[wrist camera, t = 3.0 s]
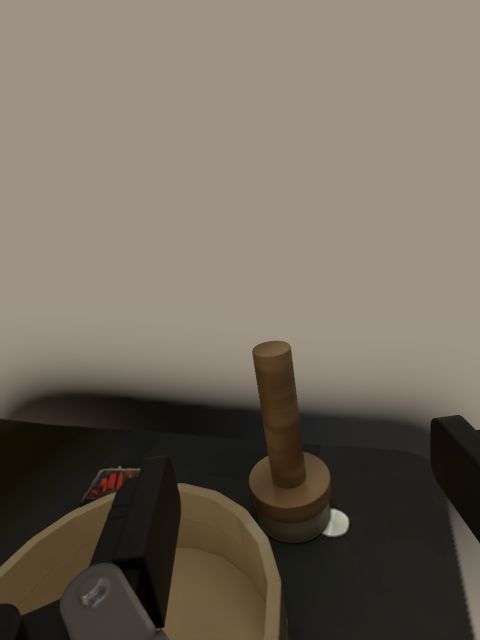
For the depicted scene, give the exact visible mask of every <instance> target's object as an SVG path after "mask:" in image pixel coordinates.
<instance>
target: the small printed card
mask: <svg viewBox="0 0 480 640" xmlns="http://www.w3.org/2000/svg"><path fill="white" fill-rule="evenodd" d="M139 472H140V469H130V468H128V469H122V468H121V467H120V466H119V468H118V469H113V468H110V469H104V470H101V471H99V473H98V474H97V475H98V476H96V479H93V483H92V484H91V486H90V488H89V490H88V491H87V492H86V494H84V496H83V498H82V502H81V506H80V507H82V506H85V505H87V504H89V503H91V502H93V501H95V500H98V499H100V498H102V497H104V496H106V495H109V494H111V493H115V492H117V490H118V489H119V488H120V487H121V486H122V484H123V483H124V482H125V481H126V480H127V479H128V478H131V477H138V475H139Z"/></svg>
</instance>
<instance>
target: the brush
mask: <svg viewBox="0 0 480 640" xmlns="http://www.w3.org/2000/svg"><path fill="white" fill-rule="evenodd" d="M252 352H253V359H254V366H255V372H256V379H257V385H258V392H259V398H260V404H261V411H262V418H263V424H264V431H265V437H266V444H267V450H268V456H267V457H265V458H263V459H262V460H261V461H259V462H258V463H257V464H256V465H255V466H254V468H253V469H252V471H251V474H250V477H249V486H250V492H251V498H252V502H253V504H254V506H255V507H256V509H257V514H258V520H259V523H260V525H261V527H262V529H263V530H264V531H265V532H266V533H267V534H268V535H269V536H271V537H272V538H274V539H276V540H278V541H282V542H286V543H301V542H306V541H309V540H311V539H313V538H315V537H317V536H318V535H320V534H321V533H322V532H323V531H324V530H325V528H326V527H327V525H328V523H329V520H330V515H331V512H330V499H331V494H332V490H331V479H330V473H329V470H328V468H327V466H326V465H325V464H324V462H323V461H322V460H320V459H319V458H317V457H316V456H314V455H312V454H309V453H306V452H303V445H302V438H301V429H300V421H299V412H298V403H297V395H296V387H295V378H294V370H293V362H292V353H291V346H290V345H289V344H288V343H286V342H283V341H270V342H265V343H261V344H259V345H257V346H255V347H254V348H253V351H252Z"/></svg>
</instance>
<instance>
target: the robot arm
mask: <svg viewBox="0 0 480 640" xmlns="http://www.w3.org/2000/svg"><path fill="white" fill-rule="evenodd" d="M430 460H431V468H432V471H433V474H434V477H435V479H436V481H437V483H438V484H439V486H440V487H441V488H442V490H443V491H444V493H445V494H446V496H447V497H448V498H449V500H450V501H451V503H452V504H453V505H454V507H455V508H456V510H457V511H458V513H459V514H460V515H461V517H462V518H463V520H464V521H465V523H466V524H467V525H468V527H469V528H470V530H471V531H472V533H473V534H474V535H475V537H476V538H477V540H478V541H479V543H480V430H475V429H474V428H473V427H472V426H471V425H470V424H469V423H468V422H467V421H466V420H465V419H464V418H463V417H462V416H460V415H454V416H448V417H440V418H434V419H432V421H431V457H430ZM180 519H181V499H180V494H179V489H178V485H177V481H176V477H175V473H174V469H173V465H172V461H171V458H170V456H169V455H164V456H157V457H150V458H145V459H144V460H143V462H142V466H141V469H140V472H139V475H138V477H131V478H128V479H127V480H126V481H125V482H124V483H123V484H122V486H121V487H120V488H119V489H118V490H117V492H116V494H115V497H114V500H113V502H112V505H111V509H110V511H109V513H108V516H107V521H105V524H104V527H103V529H102V532H101V535H100V537H99V540H98V543H97V546H96V548H95V551H94V554H93V556H92V559H91V562H90V564H89V567H88V568H86V569H85V570H83V571H82V572H80V573H79V574H78V575H76V576H75V577H74V578H73V579H72V580H71V581H70V583H69V584H68V585H67V587H66V588H65V590H64V592H63V594H62V596H61V598H60V599H58V600H56V601H54V602H52V603H50V604H48V605H45V606H43V607H41V608H38V609H36V610H34V611H31V612H29V613H27V614H24V615H22V616H21V614H20V612H19V610H18V608H17V607H16V606H14V605H12V604H7V603H4V604H0V640H170V639H169V638H168V636H167V635H166V633H165V632H164V631H163V630H162V629H159V628H164V627H165V620H166V614H167V607H168V600H169V593H170V587H171V580H172V573H173V566H174V560H175V553H176V546H177V539H178V533H179V526H180ZM157 629H159V630H157Z"/></svg>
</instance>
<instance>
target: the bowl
mask: <svg viewBox="0 0 480 640" xmlns="http://www.w3.org/2000/svg"><path fill="white" fill-rule="evenodd" d="M177 485H178V489H179V494H180V499H181V519H180V526H179V533H178V539H177V546H176V553H175V560H174V566H173V573H172V580H171V587H170V593H169V600H168V607H167V614H166V620H165V627H164V628H159V629H162V630H163V631H164V632H165V633H166V635H167V636H168V638H169V639H170V640H291V638H290V632H289V626H288V619H287V614H286V607H285V601H284V595H283V589H282V582H281V578H280V575H279V571H278V568H277V565H276V561H275V558H274V555H273V552H272V548H271V545H270V542H269V539H268V537H267V536H266V534H265V533H264V532H263V531H262V529H261V528H260V527H259V525H258V524H257V523H256V522H255V520H254V519H253V518H252V516H251V515H250V514H249V513H248V511H247V510H246V509H245V508H243V507H242V506H240V505H238V504H237V503H235V502H234V501H232V500H230V499H229V498H227V497H225V496H224V495H222V494H221V493H219V492H216V491H214V490H210V489H205V488H201V487H197V486H193V485H189V484H183V483H181V484H177ZM115 494H116V492H115V493H111V494H109V495H106V496H104V497H102V498H100V499H98V500H95V501H93V502H91V503H89V504H87V505H85V506H82V507H80V508H78V509H76V510H74V511H72V512H70V513H68V514H67V515H65V516H64V517H62V518H61V519H59V520H58V521H56V522H55V523H53V524H52V525H50V526H49V527H47V528H46V529H44V530H43V531H41V532H40V533H38V534H37V535H35V536H34V537H32V538H31V539H30V540H29V541H28V542H27V543H26V544H24V545H23V546H22V547H21V548H20V549H19V550H18V551H17V552H16V553H15V554H14V555H13V556H12V557H11V558H9V559H8V560H7V561H6V562H5V563H4V564H3V565H2V566H1V567H0V604H4V603H7V604H12V605H14V606H16V607H17V608H18V610H19V612H20V614H21V616H22V615H24V614H27V613H29V612H31V611H34V610H36V609H38V608H41V607H43V606H45V605H48V604H50V603H52V602H54V601H56V600H58V599H60V598H61V596H62V594H63V592H64V590H65V588H66V587H67V585H68V584H69V583H70V581H71V580H72V579H73V578H74V577H75V576H76V575H78V574H79V573H80V572H82V571H83V570H85V569H86V568H88V567H89V564H90V562H91V559H92V556H93V554H94V551H95V548H96V546H97V543H98V540H99V537H100V535H101V532H102V529H103V527H104V524H105V521H107V516H108V513H109V511H110V509H111V505H112V502H113V500H114V497H115ZM159 629H157V630H159Z"/></svg>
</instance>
